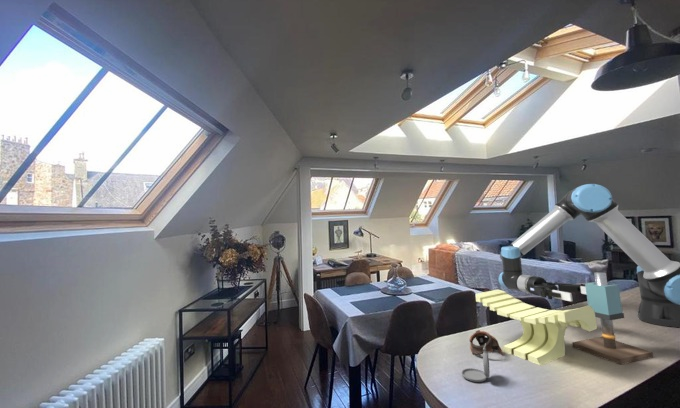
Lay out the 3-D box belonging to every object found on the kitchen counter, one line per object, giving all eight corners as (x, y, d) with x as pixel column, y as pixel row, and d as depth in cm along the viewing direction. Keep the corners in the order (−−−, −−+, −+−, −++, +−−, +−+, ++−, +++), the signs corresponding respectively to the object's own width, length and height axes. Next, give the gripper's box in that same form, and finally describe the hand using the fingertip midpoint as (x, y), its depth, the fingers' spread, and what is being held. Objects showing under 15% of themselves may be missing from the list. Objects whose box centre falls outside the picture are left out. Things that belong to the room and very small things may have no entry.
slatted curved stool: (601, 363, 87) (593, 303, 89) (572, 377, 80) (564, 312, 82) (507, 333, 114) (503, 288, 116) (480, 342, 107) (475, 293, 109)
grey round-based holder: (457, 373, 86) (454, 338, 87) (484, 370, 87) (481, 336, 88) (472, 387, 78) (469, 349, 79) (501, 384, 79) (497, 346, 80)
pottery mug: (510, 360, 93) (499, 340, 92) (484, 373, 94) (472, 353, 93) (492, 337, 105) (482, 319, 104) (469, 348, 106) (458, 331, 105)
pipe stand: (602, 340, 103) (592, 268, 105) (653, 356, 89) (640, 273, 92) (572, 346, 99) (563, 272, 102) (620, 364, 86) (608, 278, 88)
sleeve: (601, 308, 99) (598, 281, 100) (622, 312, 93) (618, 284, 94) (588, 310, 98) (585, 283, 98) (609, 315, 92) (605, 286, 93)
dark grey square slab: (602, 312, 99) (601, 308, 99) (624, 317, 93) (623, 313, 93) (588, 315, 98) (587, 310, 98) (609, 320, 91) (609, 315, 91)
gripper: (556, 290, 124) (614, 302, 103) (509, 297, 118) (559, 310, 97) (554, 273, 124) (611, 280, 104) (507, 278, 118) (557, 288, 98)
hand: (586, 295), depth 100 cm, fingers open, 13 cm apart
